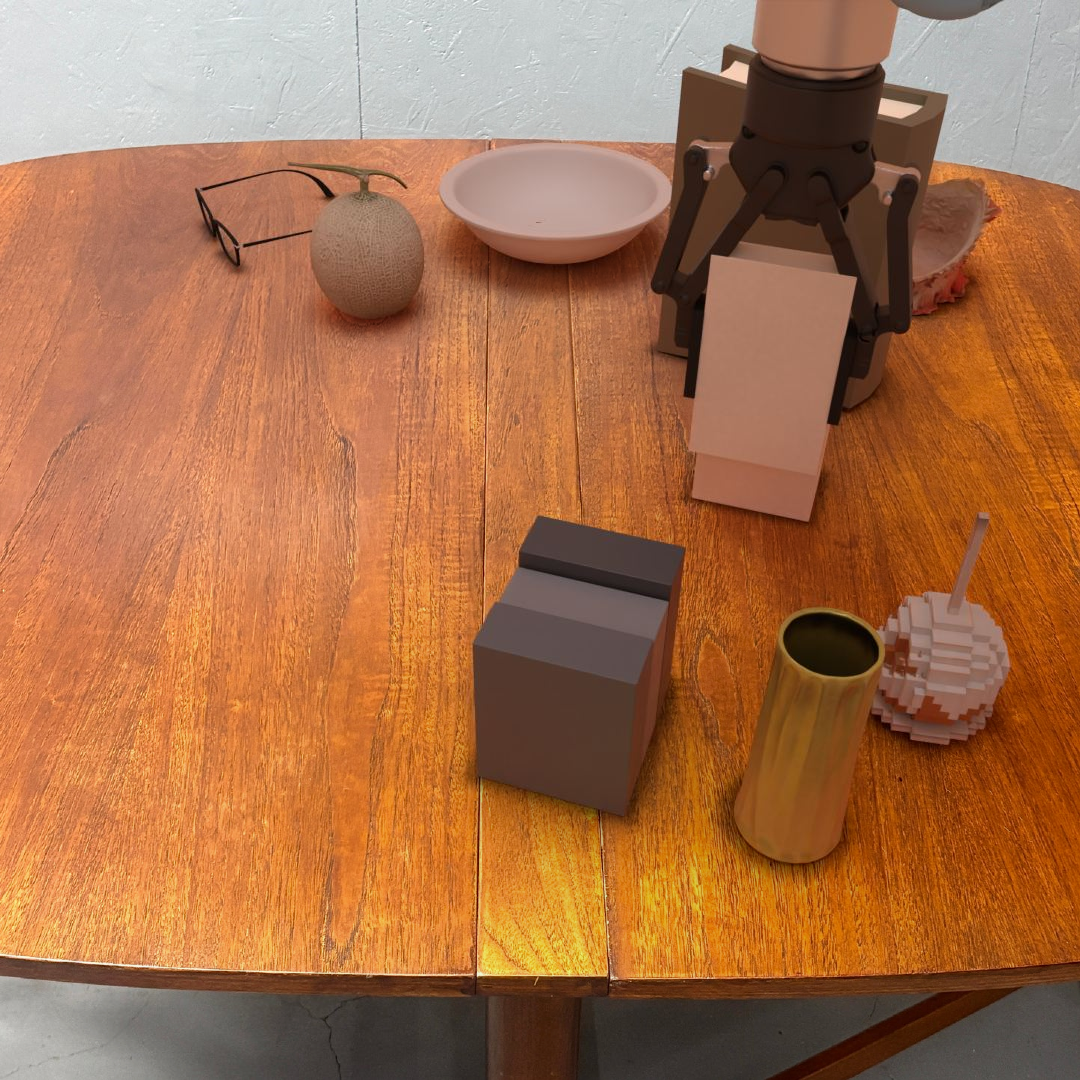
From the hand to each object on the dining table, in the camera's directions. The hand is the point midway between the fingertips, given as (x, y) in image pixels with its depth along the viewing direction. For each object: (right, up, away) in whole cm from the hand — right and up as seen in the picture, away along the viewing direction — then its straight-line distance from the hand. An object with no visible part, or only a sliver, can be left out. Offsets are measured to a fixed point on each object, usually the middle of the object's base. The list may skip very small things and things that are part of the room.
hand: (763, 400), depth 78 cm
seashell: (+21, +17, +39) cm, 48 cm away
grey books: (-13, -21, -8) cm, 26 cm away
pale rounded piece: (+9, -20, -5) cm, 22 cm away
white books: (+2, -5, +12) cm, 13 cm away
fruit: (-31, +13, +33) cm, 47 cm away
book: (+6, +6, +26) cm, 28 cm away
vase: (-1, -26, -13) cm, 29 cm away
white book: (0, -3, +3) cm, 4 cm away
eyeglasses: (-42, +23, +46) cm, 67 cm away
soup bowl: (-14, +22, +44) cm, 51 cm away
